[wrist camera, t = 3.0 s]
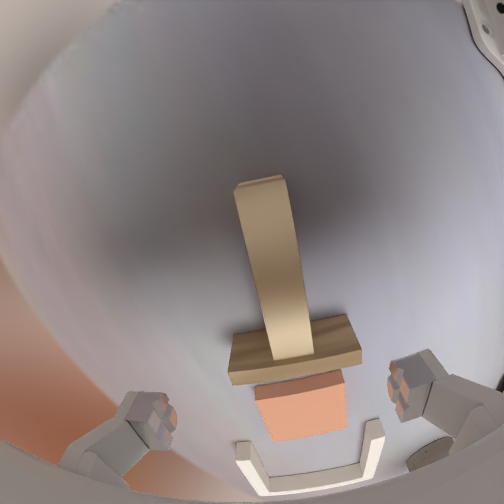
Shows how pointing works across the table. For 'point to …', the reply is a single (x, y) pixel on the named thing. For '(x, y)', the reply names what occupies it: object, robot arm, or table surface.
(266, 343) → the wooden t-shaped pusher
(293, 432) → the tile
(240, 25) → the table surface
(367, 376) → the table surface
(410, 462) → the thermos bottle
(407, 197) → the table surface
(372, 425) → the corral
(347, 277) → the table surface
